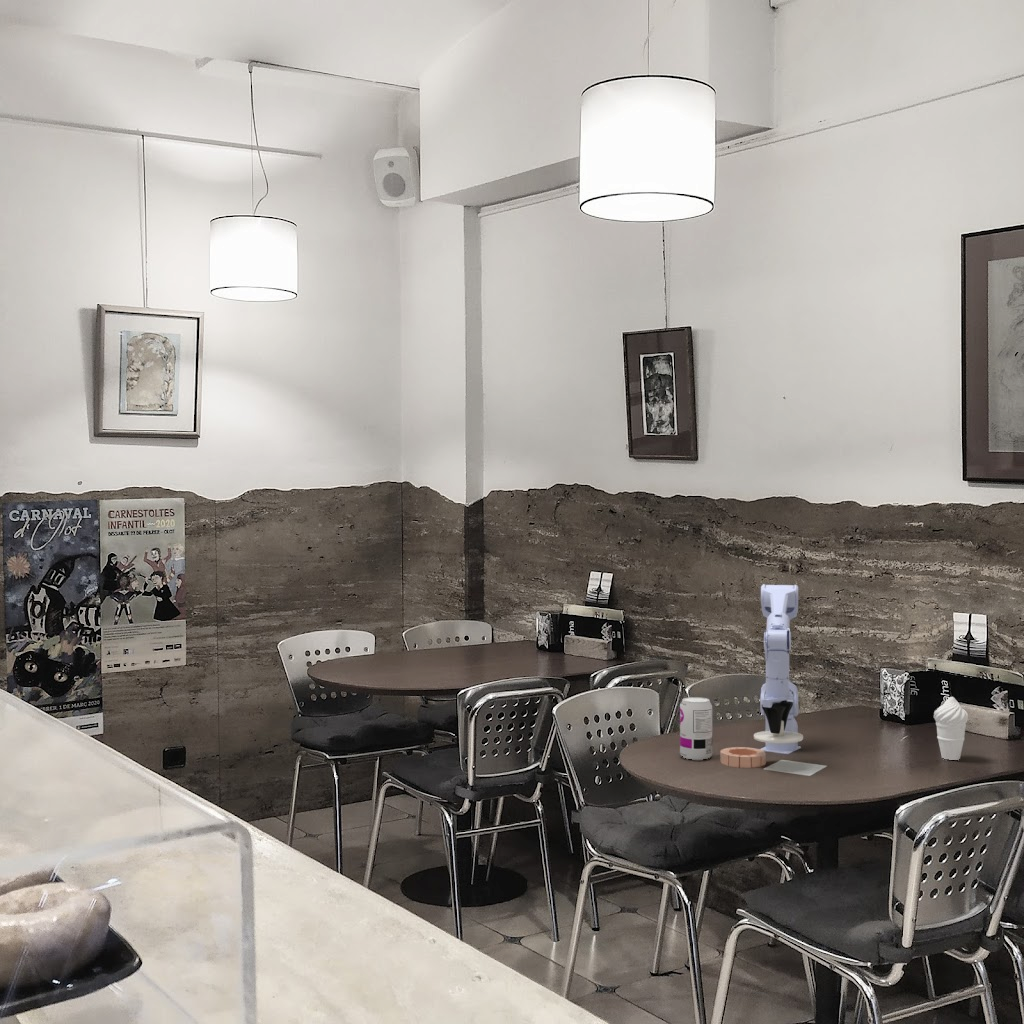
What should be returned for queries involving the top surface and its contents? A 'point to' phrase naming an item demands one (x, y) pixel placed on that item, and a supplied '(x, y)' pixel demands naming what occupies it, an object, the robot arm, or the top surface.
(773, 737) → the lid
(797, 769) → the mat
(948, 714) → the soft serve ice cream cone
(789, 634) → the robot arm
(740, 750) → the bowl
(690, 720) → the supplement can
